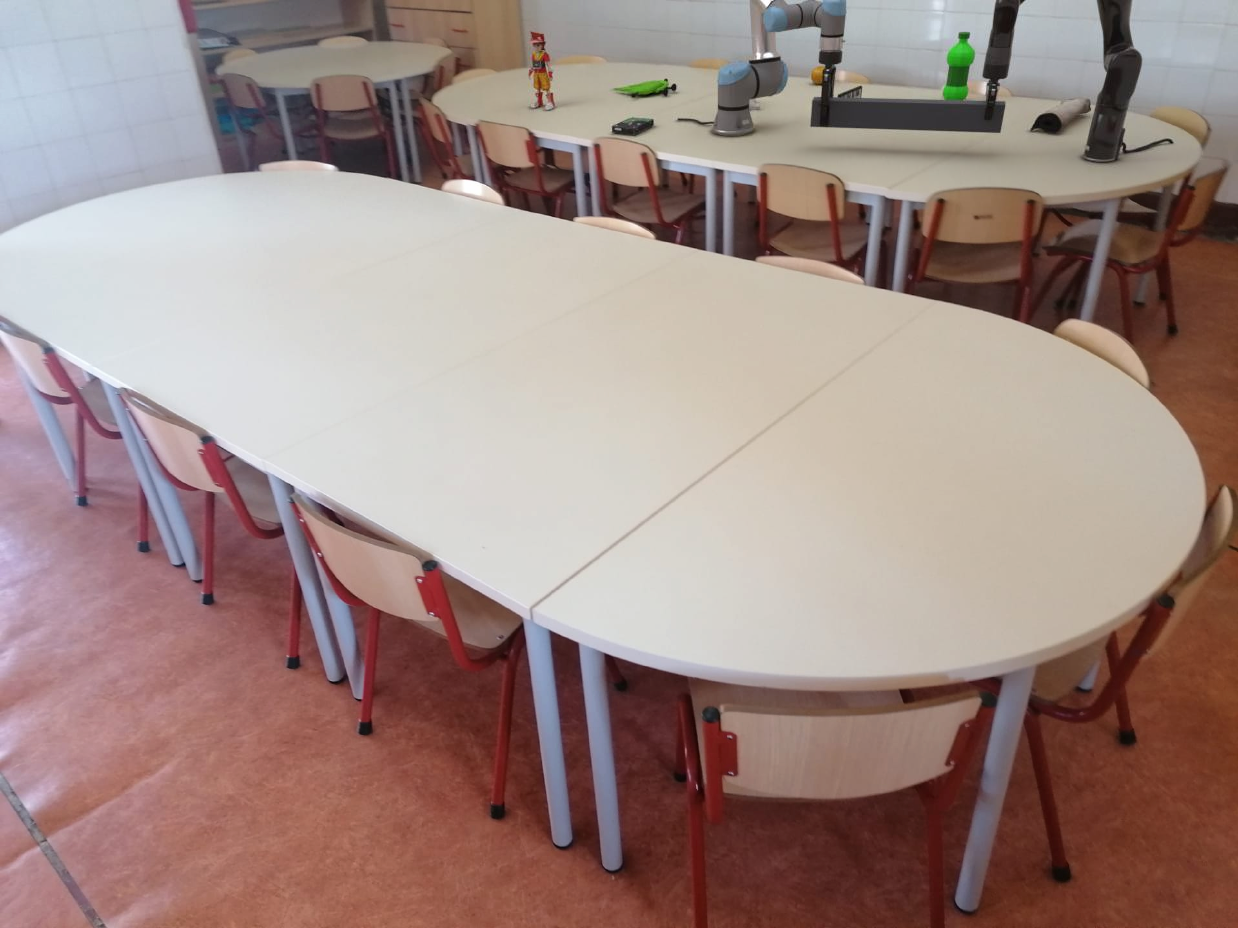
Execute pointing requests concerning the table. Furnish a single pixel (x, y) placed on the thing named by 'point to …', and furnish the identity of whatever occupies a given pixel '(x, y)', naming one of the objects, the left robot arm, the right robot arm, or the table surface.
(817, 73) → the fruit
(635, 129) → the disk drive
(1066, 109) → the rolled mat
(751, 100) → the anatomical model
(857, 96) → the midi keyboard
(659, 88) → the toy
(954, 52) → the plastic bottle
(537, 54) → the toy
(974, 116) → the beam
